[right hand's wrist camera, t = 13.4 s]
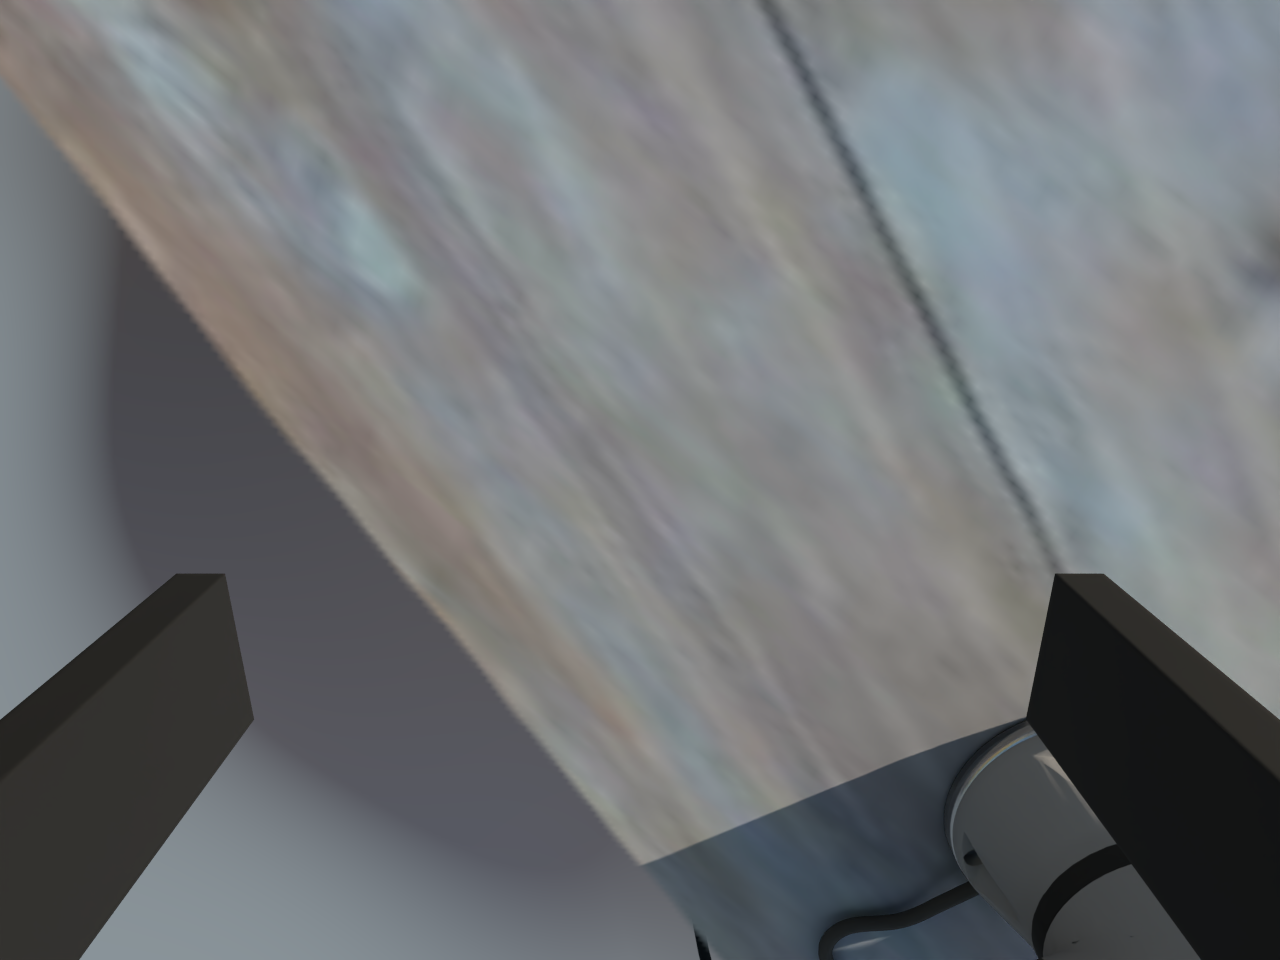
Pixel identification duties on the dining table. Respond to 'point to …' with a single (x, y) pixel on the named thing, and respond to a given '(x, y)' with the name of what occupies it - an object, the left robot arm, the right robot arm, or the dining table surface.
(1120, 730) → the right robot arm
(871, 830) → the dining table surface
